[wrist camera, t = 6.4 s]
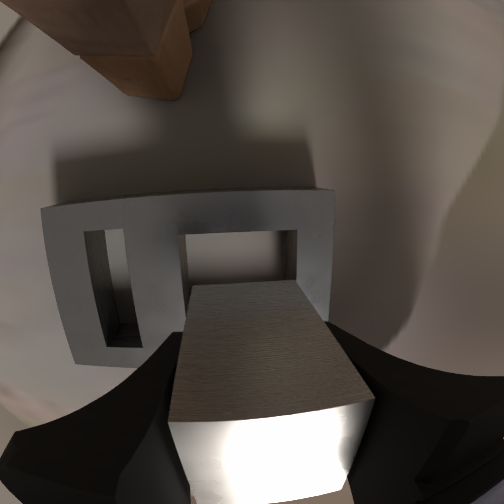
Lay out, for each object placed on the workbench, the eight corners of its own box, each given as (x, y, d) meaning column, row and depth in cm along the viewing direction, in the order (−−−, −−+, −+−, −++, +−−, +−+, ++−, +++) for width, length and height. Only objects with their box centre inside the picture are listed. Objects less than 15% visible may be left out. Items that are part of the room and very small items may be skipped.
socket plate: (316, 187, 18) (334, 190, 15) (310, 333, 20) (323, 357, 17) (64, 202, 16) (40, 208, 13) (90, 341, 19) (75, 364, 16)
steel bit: (294, 279, 12) (375, 397, 5) (291, 361, 13) (340, 489, 6) (192, 285, 11) (167, 421, 5) (202, 368, 12) (198, 506, 6)
